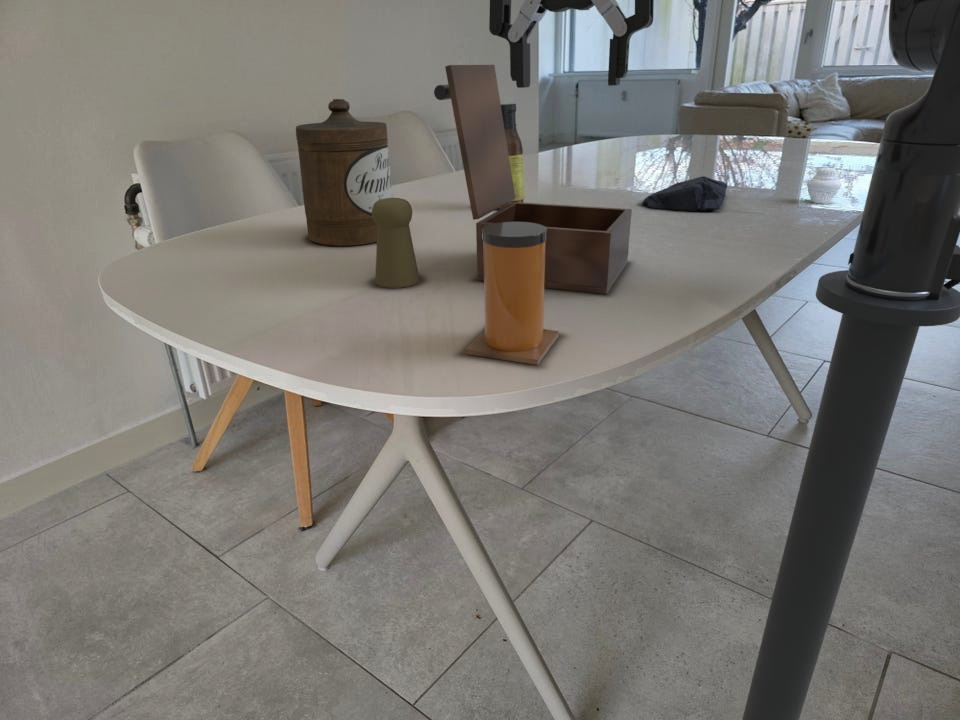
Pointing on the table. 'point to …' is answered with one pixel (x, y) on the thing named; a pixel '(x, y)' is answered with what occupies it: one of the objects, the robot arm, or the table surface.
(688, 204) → the dark slate chunk
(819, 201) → the white vase
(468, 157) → the lid
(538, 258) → the honey jar
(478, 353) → the coaster
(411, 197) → the table surface
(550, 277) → the chest
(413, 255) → the pepper shaker
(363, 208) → the wooden container
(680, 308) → the table surface
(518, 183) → the sauce bottle
